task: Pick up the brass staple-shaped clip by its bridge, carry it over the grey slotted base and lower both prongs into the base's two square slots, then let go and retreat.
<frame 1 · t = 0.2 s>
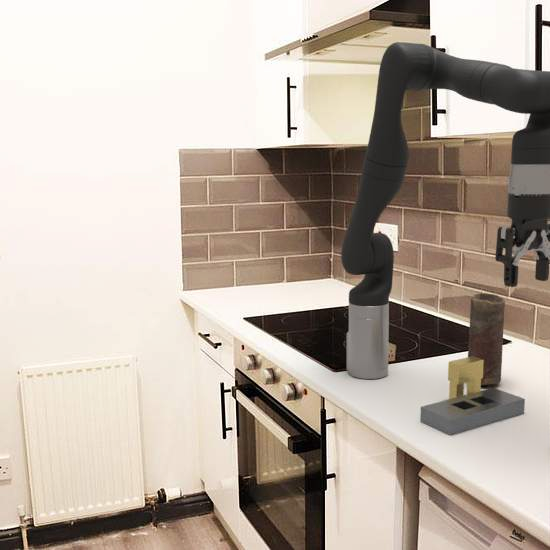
hand: (526, 283, 123), 28 cm above the worktop, fingers open, 8 cm apart
brown cylinder: (483, 384, 157), on the worktop
grey slotted base: (472, 417, 137), on the worktop
clip: (464, 399, 147), on the worktop
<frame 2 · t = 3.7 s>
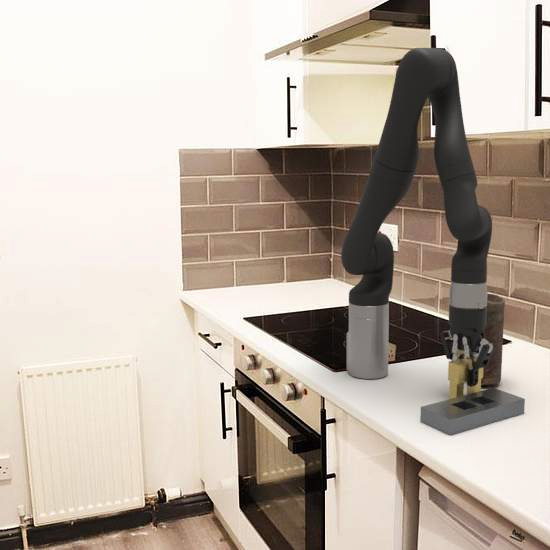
hand: (465, 383, 146), 4 cm above the worktop, fingers closed on clip, 3 cm apart
clip: (465, 399, 147), on the worktop, touching gripper
everything else where it was.
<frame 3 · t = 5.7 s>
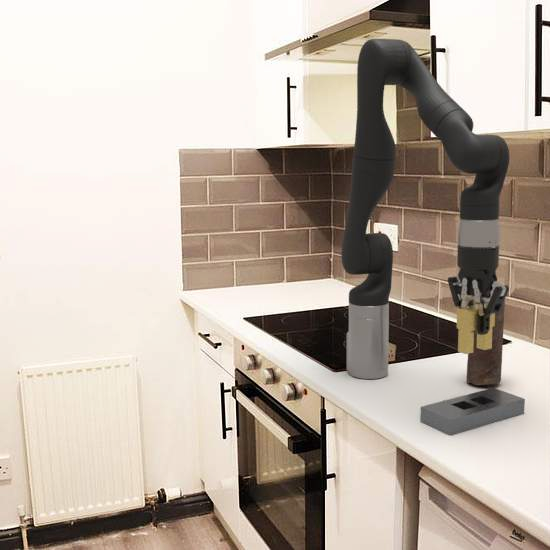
hand: (475, 331, 134), 17 cm above the worktop, fingers closed on clip, 3 cm apart
clip: (474, 350, 135), point 14 cm above the worktop, touching gripper
everything else where it was.
when the fingers open (5 cm above the worktop, at t = 7.9 s): clip stays where it is, resting on grey slotted base.
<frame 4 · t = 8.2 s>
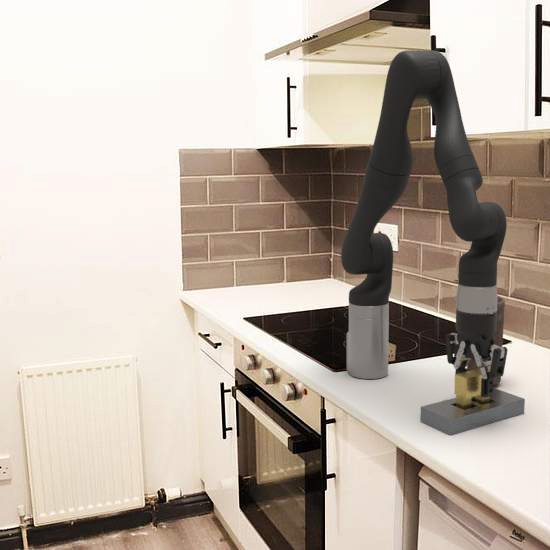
hand: (473, 391, 136), 5 cm above the worktop, fingers open, 6 cm apart
clip: (472, 414, 137), resting on grey slotted base
everything else where it was.
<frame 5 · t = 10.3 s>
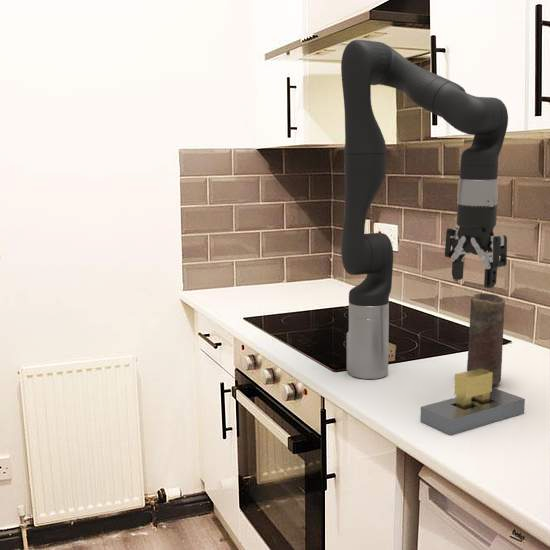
hand: (473, 283, 140), 25 cm above the worktop, fingers open, 8 cm apart
nothing on the worktop moved.
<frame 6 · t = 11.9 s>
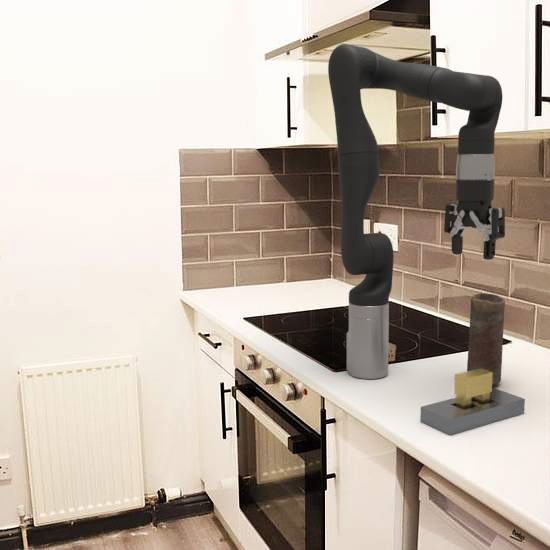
hand: (472, 256, 144), 30 cm above the worktop, fingers open, 8 cm apart
nothing on the worktop moved.
at the end: clip 0.1 cm off-centre on the grey slotted base, point 0.5 cm above the grey slotted base's base; clip tilted 0°; the gripper is holding nothing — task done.
